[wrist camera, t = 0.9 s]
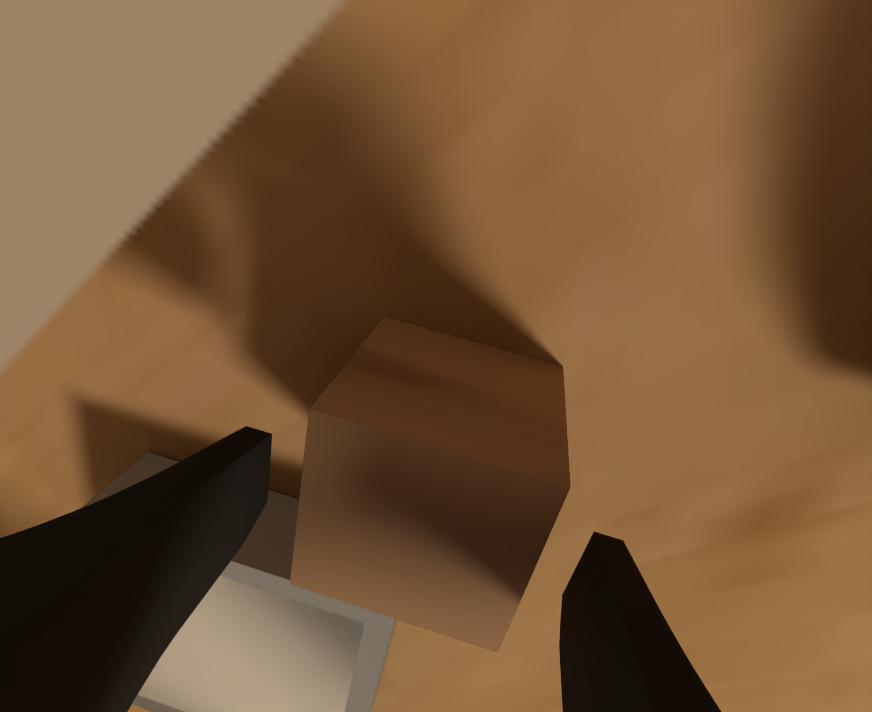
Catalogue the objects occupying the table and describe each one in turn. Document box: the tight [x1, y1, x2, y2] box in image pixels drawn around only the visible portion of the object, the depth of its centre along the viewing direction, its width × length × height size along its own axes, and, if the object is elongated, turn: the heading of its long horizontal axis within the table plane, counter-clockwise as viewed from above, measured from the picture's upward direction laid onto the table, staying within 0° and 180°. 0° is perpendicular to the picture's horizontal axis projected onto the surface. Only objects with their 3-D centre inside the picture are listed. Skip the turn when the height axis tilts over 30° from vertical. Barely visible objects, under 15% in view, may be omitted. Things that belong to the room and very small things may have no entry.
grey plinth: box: [82, 452, 396, 712], centre depth 18 cm, size 10×10×3 cm
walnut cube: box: [290, 316, 570, 652], centre depth 13 cm, size 5×5×5 cm
